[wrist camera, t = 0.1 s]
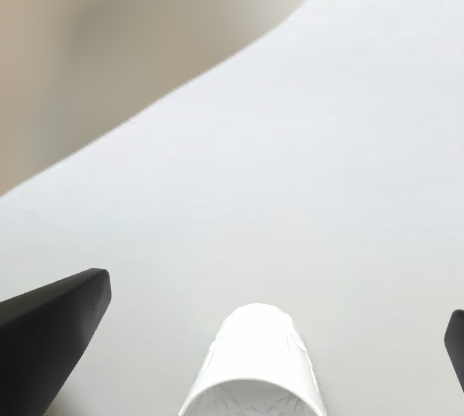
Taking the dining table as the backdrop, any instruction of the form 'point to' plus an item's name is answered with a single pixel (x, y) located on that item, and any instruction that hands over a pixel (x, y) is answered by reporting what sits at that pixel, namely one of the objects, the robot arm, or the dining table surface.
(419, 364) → the dining table surface
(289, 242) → the dining table surface
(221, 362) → the white cup
